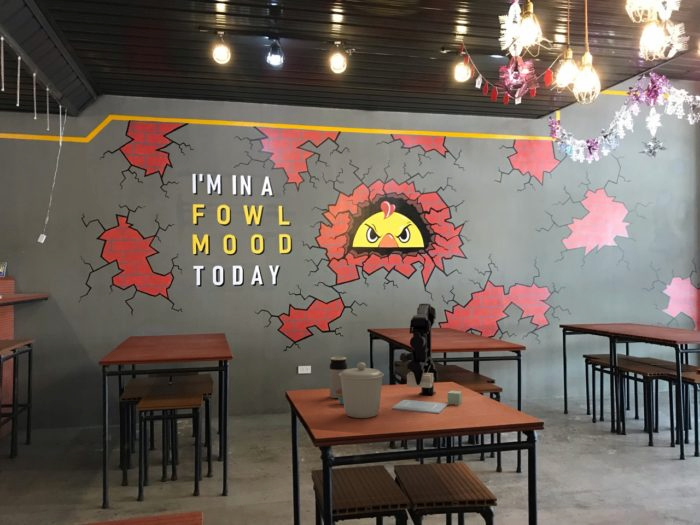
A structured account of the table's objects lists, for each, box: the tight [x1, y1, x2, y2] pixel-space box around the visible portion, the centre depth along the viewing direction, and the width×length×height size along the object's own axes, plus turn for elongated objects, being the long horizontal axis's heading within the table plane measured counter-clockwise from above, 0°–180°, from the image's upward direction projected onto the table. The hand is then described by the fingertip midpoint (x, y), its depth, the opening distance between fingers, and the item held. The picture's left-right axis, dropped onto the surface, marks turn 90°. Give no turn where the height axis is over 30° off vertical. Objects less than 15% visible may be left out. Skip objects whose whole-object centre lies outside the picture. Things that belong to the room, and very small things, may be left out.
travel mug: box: [329, 356, 348, 399], centre depth 254 cm, size 8×8×18 cm
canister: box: [339, 361, 385, 419], centre depth 222 cm, size 18×18×21 cm
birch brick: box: [406, 371, 433, 388], centre depth 235 cm, size 6×10×5 cm, turn 70°
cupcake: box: [336, 387, 344, 405], centre depth 242 cm, size 9×8×12 cm
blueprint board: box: [391, 399, 449, 414], centre depth 235 cm, size 16×20×1 cm
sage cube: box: [447, 390, 463, 406], centre depth 241 cm, size 5×5×5 cm
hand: (420, 383), depth 235 cm, fingers closed on birch brick, 6 cm apart
